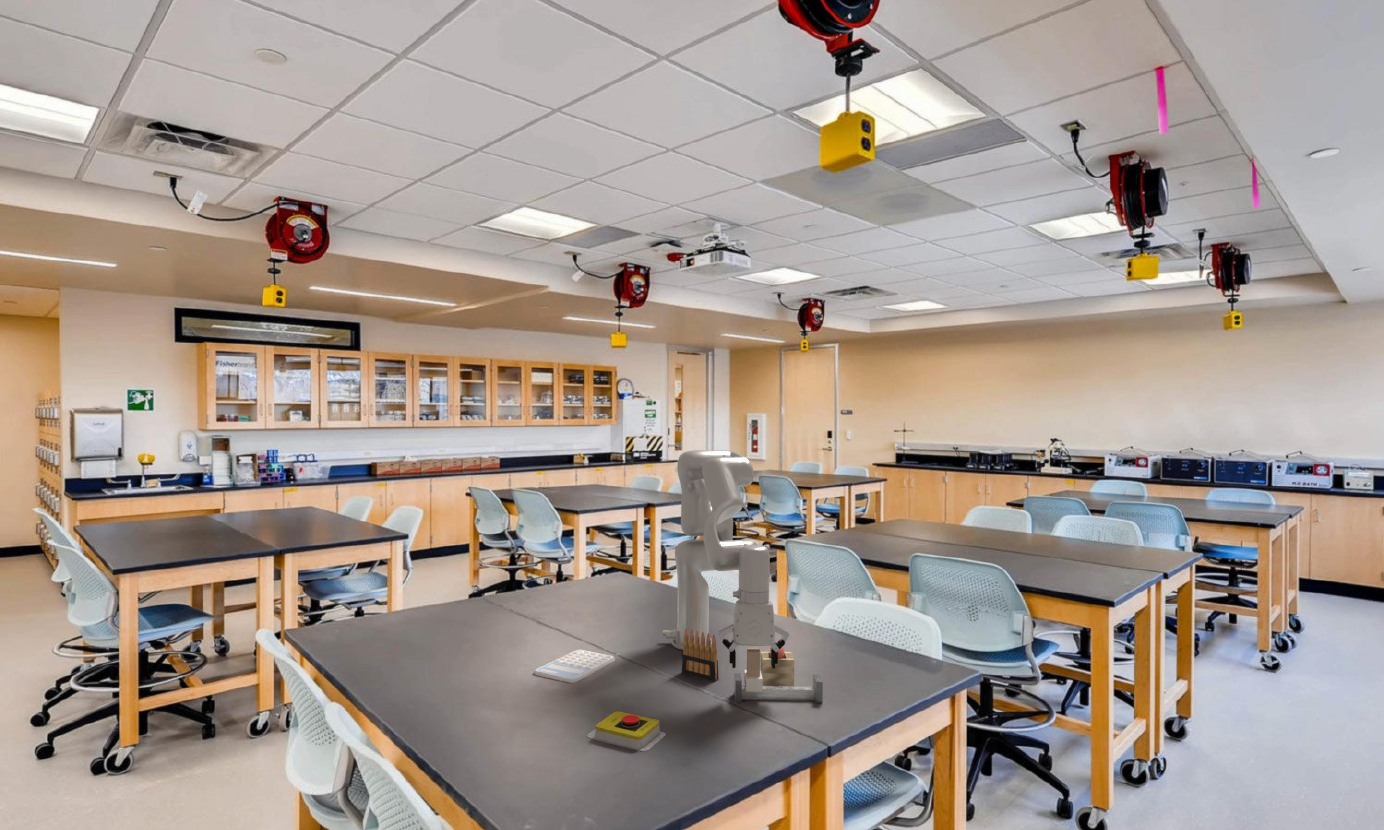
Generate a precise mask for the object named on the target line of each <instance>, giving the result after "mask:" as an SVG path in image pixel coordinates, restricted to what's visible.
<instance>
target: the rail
mask: <svg viewBox="0 0 1384 830" xmlns="http://www.w3.org/2000/svg"><path fill="white" fill-rule="evenodd" d="M733 675H734V679H733V680H734V681H733V682H734V683H733V684H734V685H733V687H734V688H733V689H734V691H733V692H734V693H733V694H734V701H735V703H742V700H755V701H756V700H758V701H759V700H760V701H761V700H763V701H764V700H765V701H766V700H767V701H768V700H769V701H789V700H790V701H815V703H816V704H817V703H819V704H822V703H823V699H824V698H823V697H824V694H823V691H824V689H823V687H824V686H823V685H824V684H823V683H824V682H823V679H822V678H821V676H820V674H819V673H817V674H815V673H814V674H812V686H794V687H793V686H763V692H749V691H746V689H745V685H743V684H742V683H743V681H742V676H741V673H739V672H738V673H736V672H735V673H733Z"/></svg>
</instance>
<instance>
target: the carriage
mask: <svg viewBox="0 0 1384 830" xmlns="http://www.w3.org/2000/svg"><path fill="white" fill-rule="evenodd" d="M743 672H744V674H743V676H744V679H743V683H744V686H745V689H746V691H749V692H763V678H762V674H761V650H760V647H746V669H744V670H743Z"/></svg>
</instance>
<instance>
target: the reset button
mask: <svg viewBox="0 0 1384 830" xmlns="http://www.w3.org/2000/svg"><path fill="white" fill-rule="evenodd" d="M771 649H772V647H771V646H770V648H769V652H770V658H771ZM784 652H785V647H784V646H783V647H782V648H781V649H780V650H779V652H778V659H784Z"/></svg>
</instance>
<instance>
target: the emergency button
mask: <svg viewBox="0 0 1384 830" xmlns="http://www.w3.org/2000/svg"><path fill="white" fill-rule="evenodd" d="M660 726H661V725H660V721H659V719H655V718H650V717H646V716H642V715H637V714H632V713H627V712H623V711H620V710H619V711H614V712H613V713H612V714H610V715H609V716H607V717H605V718H604V719H603V720H601V721H600V722H598V723H597V724H596V725H595V729H593V730H592V731H591V732H589V733H588V734H587V735H586V738H588V739H591V740H594V741H598V742H602V743H607V744H610V745H615V746H618V747H622V748H626V749H627V748H628V749H631V750H636V751H638V752H639V751H640V752H648V751H650V750H651V749H652V748H653V747H654V746H655V745H656V744H657V743H659V742H660V741H662V739H663V738H665V737H666V735H667V734H666V733H665V732H664V731H663V732H662V731H661V729H660Z"/></svg>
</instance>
